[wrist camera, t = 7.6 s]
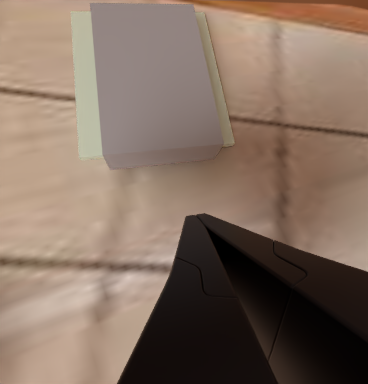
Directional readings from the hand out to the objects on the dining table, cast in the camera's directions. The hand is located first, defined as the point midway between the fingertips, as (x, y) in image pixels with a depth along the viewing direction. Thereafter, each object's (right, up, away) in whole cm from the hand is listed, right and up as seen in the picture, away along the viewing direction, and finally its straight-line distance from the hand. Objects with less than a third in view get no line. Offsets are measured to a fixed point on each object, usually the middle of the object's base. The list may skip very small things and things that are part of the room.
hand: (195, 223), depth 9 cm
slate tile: (-2, +4, +9) cm, 10 cm away
